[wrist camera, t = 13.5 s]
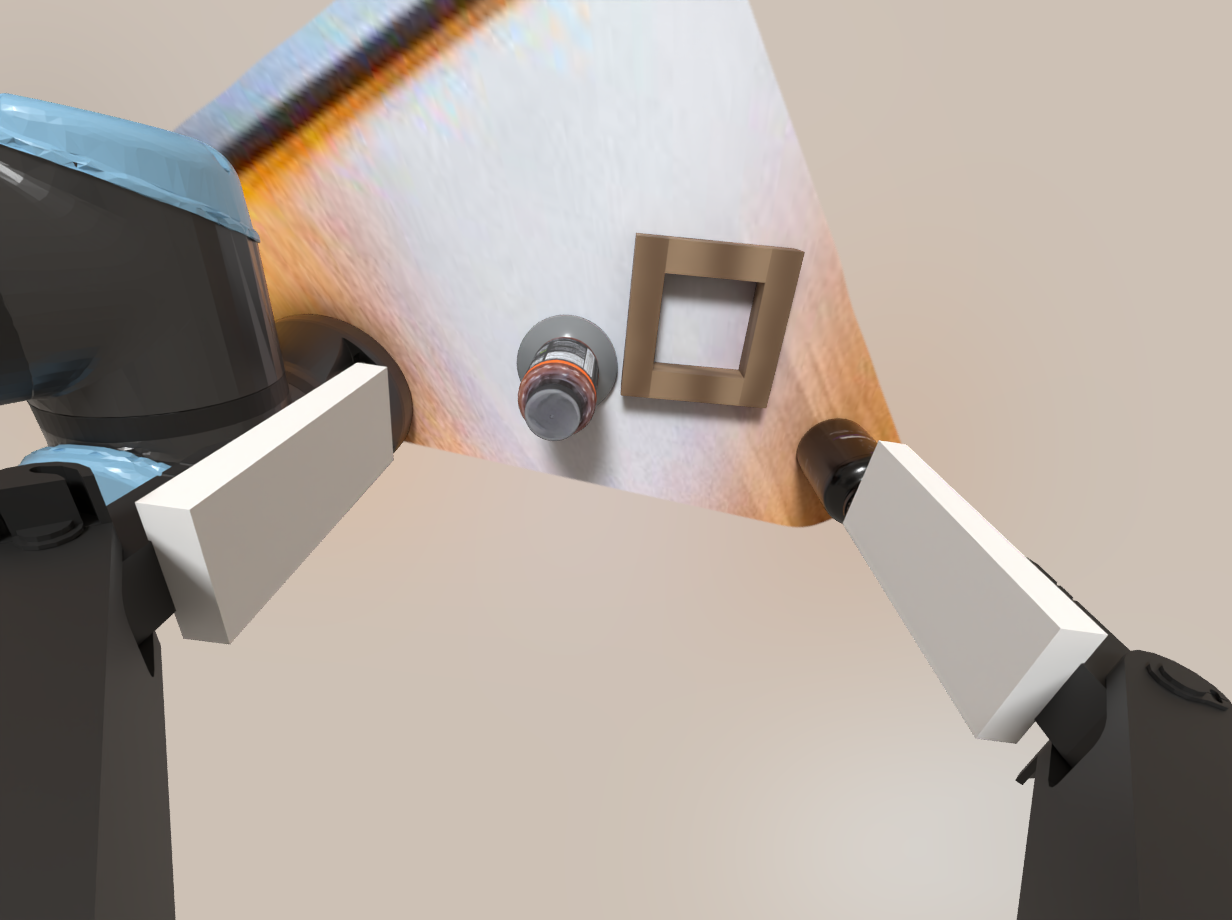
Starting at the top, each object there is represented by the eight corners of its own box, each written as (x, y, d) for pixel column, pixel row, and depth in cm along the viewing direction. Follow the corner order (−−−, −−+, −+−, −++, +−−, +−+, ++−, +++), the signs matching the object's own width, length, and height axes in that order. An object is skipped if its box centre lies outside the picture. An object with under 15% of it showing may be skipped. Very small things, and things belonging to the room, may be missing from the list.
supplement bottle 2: (853, 403, 48) (918, 464, 37) (874, 459, 51) (941, 531, 40) (783, 436, 49) (827, 504, 39) (808, 488, 52) (855, 565, 42)
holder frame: (620, 385, 47) (620, 395, 45) (636, 232, 41) (636, 235, 39) (759, 398, 48) (766, 408, 45) (795, 248, 41) (804, 252, 39)
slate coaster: (518, 406, 48) (516, 409, 48) (517, 310, 44) (516, 311, 44) (612, 414, 49) (612, 417, 48) (621, 319, 44) (621, 321, 44)
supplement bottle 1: (583, 408, 48) (573, 467, 38) (524, 382, 47) (497, 435, 37) (611, 352, 45) (608, 399, 35) (548, 322, 44) (527, 362, 34)
